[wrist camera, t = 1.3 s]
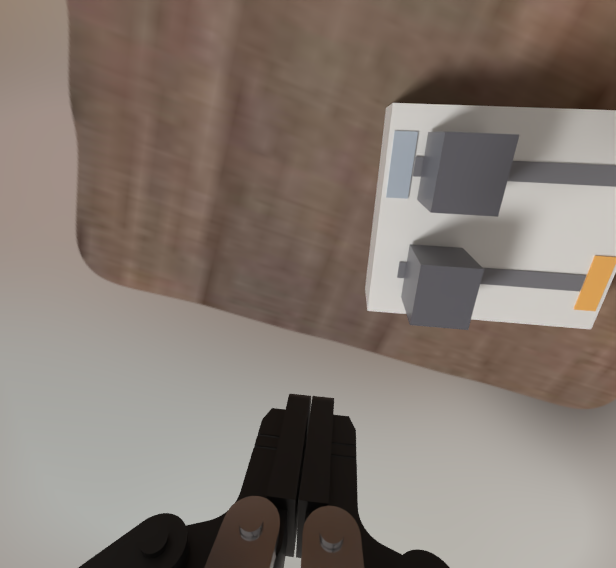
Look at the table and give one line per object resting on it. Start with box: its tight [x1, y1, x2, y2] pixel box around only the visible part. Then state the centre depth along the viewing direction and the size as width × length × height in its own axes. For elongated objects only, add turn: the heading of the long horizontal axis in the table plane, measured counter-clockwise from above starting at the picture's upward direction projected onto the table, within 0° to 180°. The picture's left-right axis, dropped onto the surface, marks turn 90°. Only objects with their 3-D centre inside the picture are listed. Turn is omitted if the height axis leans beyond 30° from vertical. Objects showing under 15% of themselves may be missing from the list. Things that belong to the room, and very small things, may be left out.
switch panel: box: [365, 103, 616, 329], centre depth 24 cm, size 16×14×4 cm
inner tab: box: [417, 132, 519, 217], centre depth 19 cm, size 4×4×4 cm
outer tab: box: [401, 244, 484, 330], centre depth 22 cm, size 4×4×4 cm
